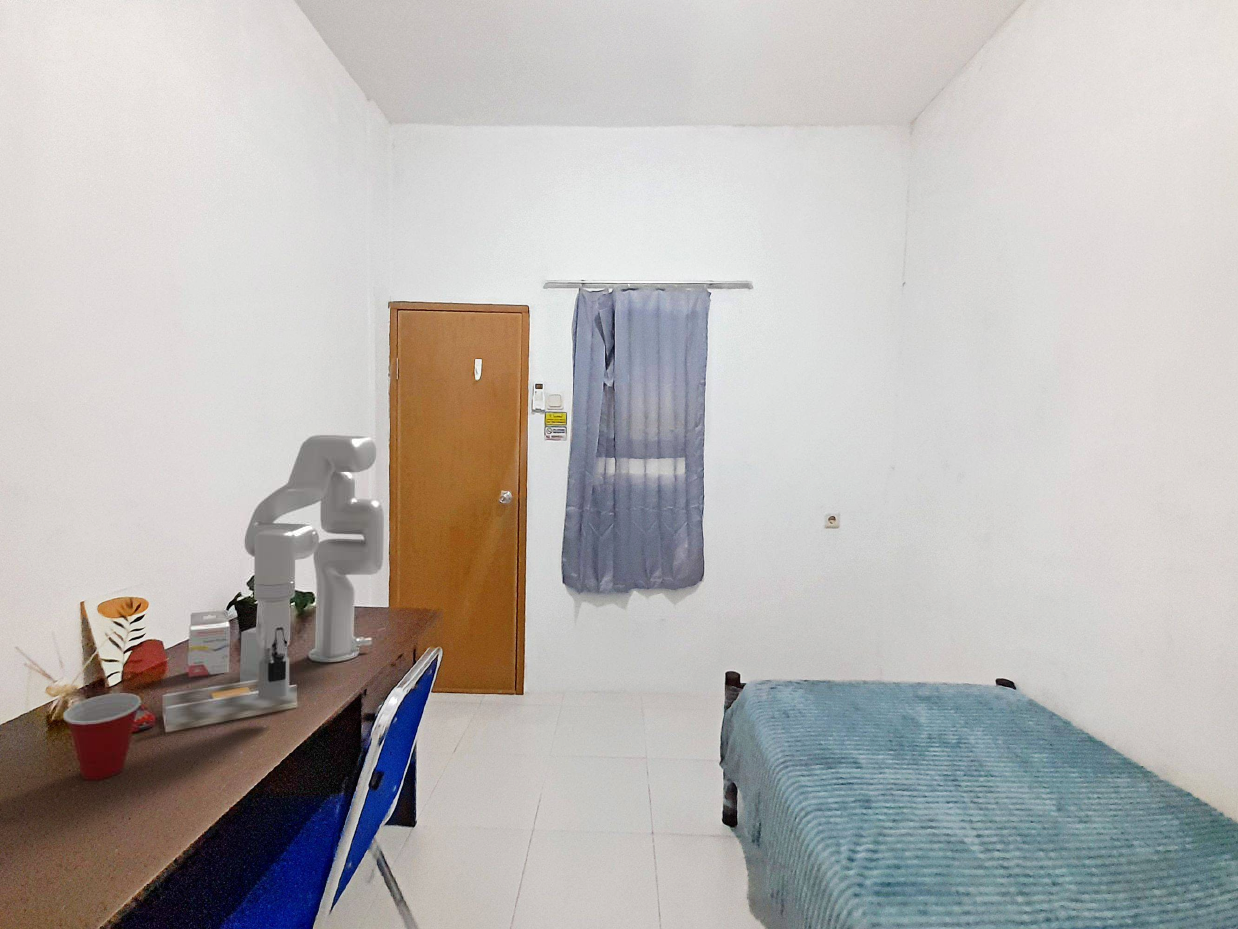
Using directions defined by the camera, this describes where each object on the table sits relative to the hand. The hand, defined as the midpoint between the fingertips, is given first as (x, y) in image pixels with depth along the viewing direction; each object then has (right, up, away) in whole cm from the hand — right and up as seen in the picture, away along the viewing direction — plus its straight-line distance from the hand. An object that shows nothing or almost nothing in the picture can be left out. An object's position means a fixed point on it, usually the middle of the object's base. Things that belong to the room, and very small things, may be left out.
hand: (274, 675), depth 142 cm
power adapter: (0, -4, 0) cm, 4 cm away
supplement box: (-14, -8, +22) cm, 27 cm away
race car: (-28, -9, -4) cm, 29 cm away
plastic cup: (-18, -10, -24) cm, 31 cm away
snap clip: (-11, -6, +4) cm, 13 cm away
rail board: (-11, -9, +4) cm, 15 cm away
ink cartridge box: (-29, -8, +26) cm, 40 cm away
